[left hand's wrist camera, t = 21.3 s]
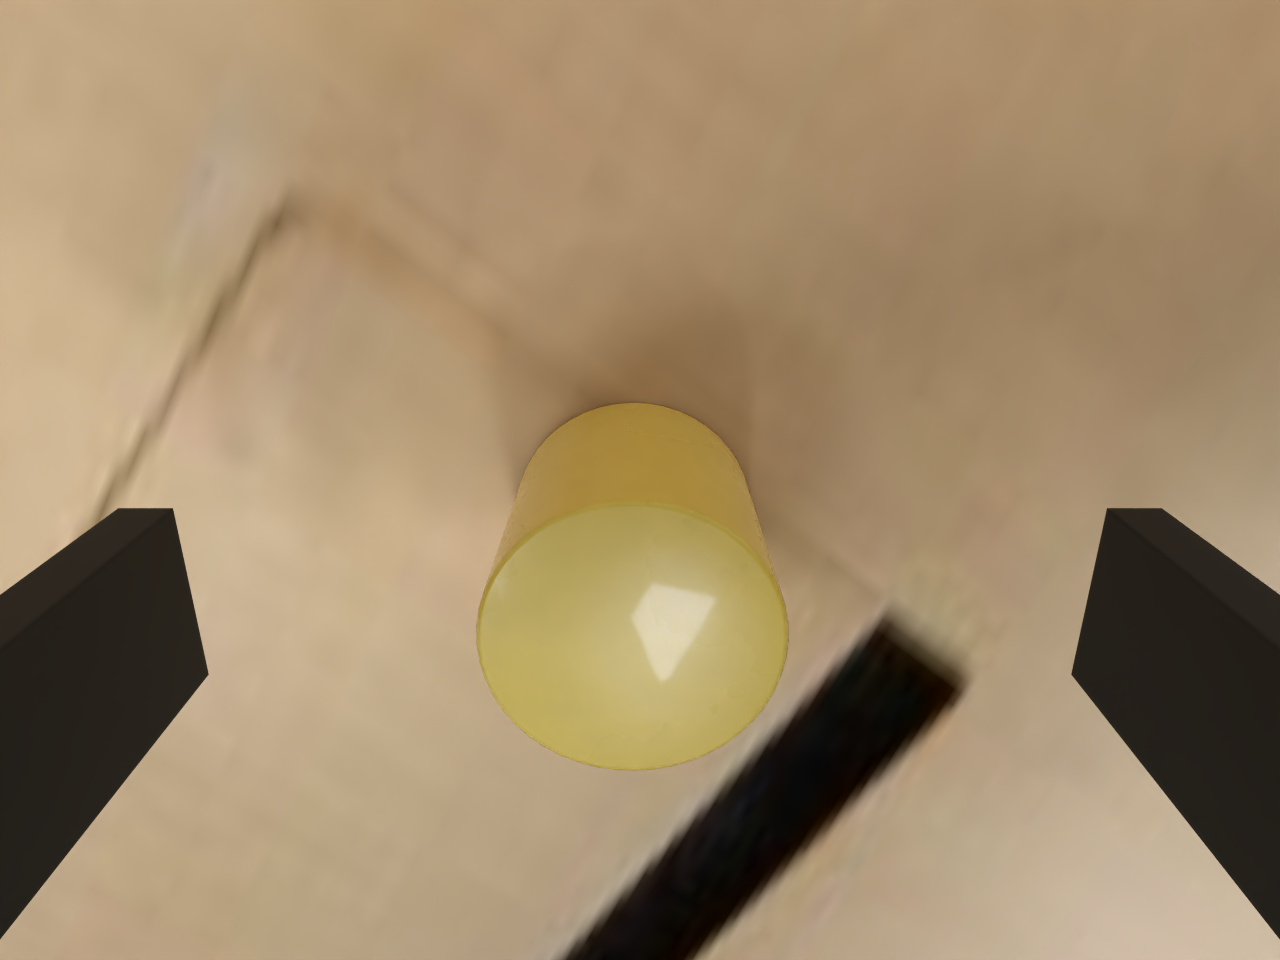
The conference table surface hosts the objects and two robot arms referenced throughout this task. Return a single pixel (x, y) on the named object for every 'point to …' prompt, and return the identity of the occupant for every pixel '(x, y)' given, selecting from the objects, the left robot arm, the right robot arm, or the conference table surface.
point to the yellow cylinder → (632, 594)
